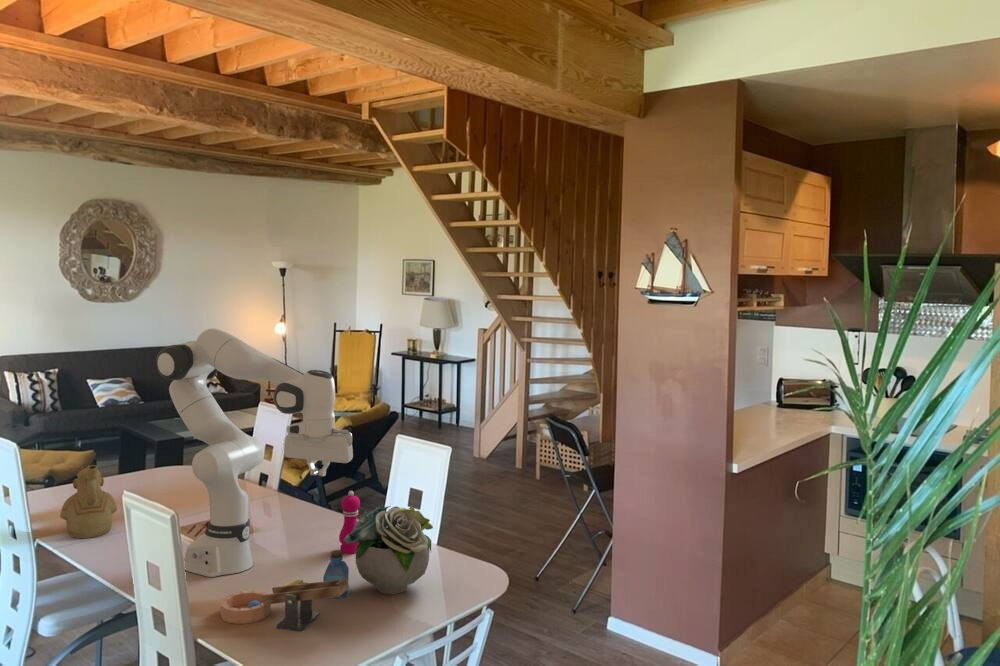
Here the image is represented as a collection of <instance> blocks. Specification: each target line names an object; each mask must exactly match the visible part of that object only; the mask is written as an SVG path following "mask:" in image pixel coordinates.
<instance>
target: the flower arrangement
mask: <svg viewBox="0 0 1000 666" xmlns="http://www.w3.org/2000/svg"><path fill="white" fill-rule="evenodd" d="M390 507H391V506H381V507H378V506H377V507H376V508H375V509H373V510H371V511H370V512H368V511H367V510H365V511H364V512H363V514H362V515H363V516H362V517H361V518H359V520H357V523H356V525H355V527H354V528H353V531H352V532H351V534H350V535H349V534H348V535H347V536H346V537H345V539H344V541H345V542H346V543H353V542H356V541H358V542H359V543H358V545H357V546H356V553H355V565H356V568H357V570H358V573H359V575H360V576H361V579H364V580H365V581H366V582H367V583H369V584H371V585H373V586H375V587H376V589H377V590H378V592H380V593H383V594H388V595H390V594H391V595H395V593H396V594H400V593H403V592H405V591H406V590H407V589H408V586H410V585H411V584H414V583H415V582H416V581H418V580H419V579H421V577H423V575H425V574H426V571H427V569H428V565H429V561H430V552H432V539H431V538H430V537H429V536H428V535H426V534H424V530H432V529H433V528H434V527H433V526H434V525H433V524H432V523H431V522H430V521H431V520H430V519H429V518H427V517H426V516H424V515H423V514H422V512H421V511H420V510H415V507H414V506H410V507H409V506H408V508H406V507H400V506H393V507H391V508H390ZM388 508H390V509H388ZM387 509H388V511H387Z"/></svg>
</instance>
